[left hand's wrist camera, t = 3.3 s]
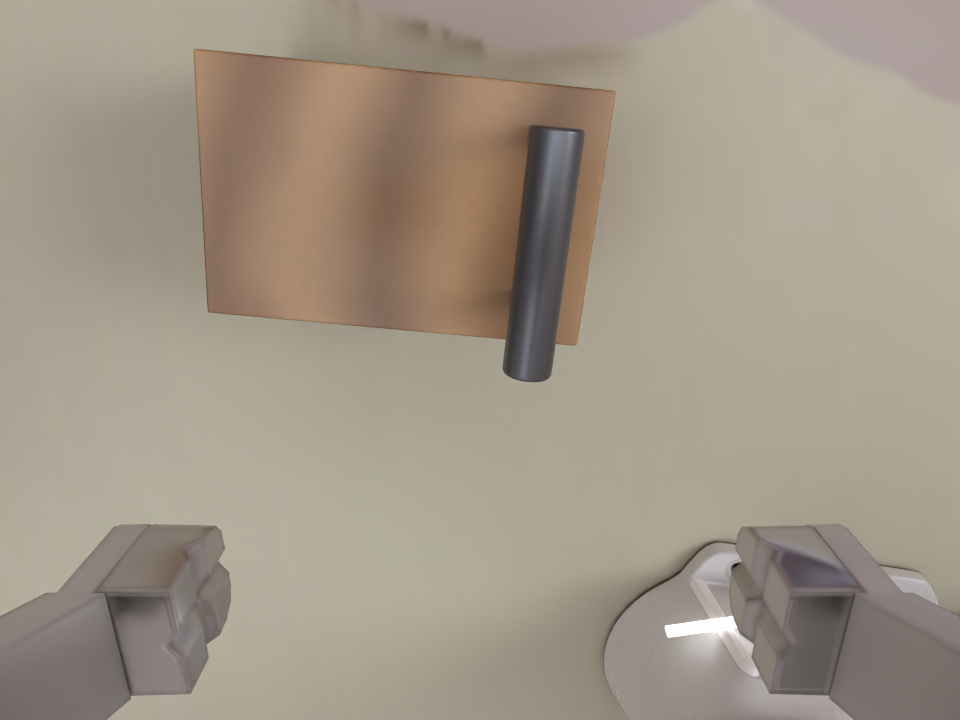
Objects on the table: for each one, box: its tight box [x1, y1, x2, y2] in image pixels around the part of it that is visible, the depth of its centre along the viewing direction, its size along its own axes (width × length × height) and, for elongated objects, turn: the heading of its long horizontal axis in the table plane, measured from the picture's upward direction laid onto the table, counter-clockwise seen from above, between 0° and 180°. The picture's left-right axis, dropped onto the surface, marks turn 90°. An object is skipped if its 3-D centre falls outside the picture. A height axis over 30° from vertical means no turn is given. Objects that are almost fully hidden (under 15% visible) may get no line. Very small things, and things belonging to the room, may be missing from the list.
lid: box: [194, 49, 615, 382], centre depth 22 cm, size 15×10×9 cm, turn 85°
